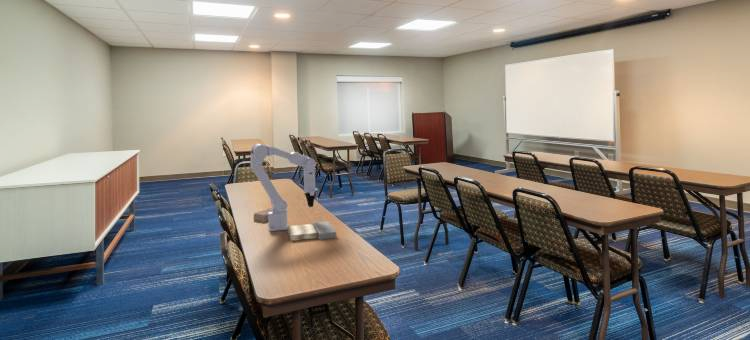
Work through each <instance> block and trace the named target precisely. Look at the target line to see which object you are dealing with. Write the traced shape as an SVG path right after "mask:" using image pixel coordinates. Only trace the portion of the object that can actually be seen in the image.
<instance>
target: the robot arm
mask: <svg viewBox="0 0 750 340" xmlns="http://www.w3.org/2000/svg"><path fill="white" fill-rule="evenodd" d="M273 155H274V156H277V157H280V158H283V159H287V160H288V162H289V163H290V164H293V165H295V166H298V167H303V187H304V189H303V191H304V196H305V197H306V203H307V205H308V206H307V207H308V208H313V207H314V202H315V199H316V195H317V193H316V191H319V189H318V188H316V172H315V171H316V170H315V168H316V166H317V163H316V160H315V159H314V158H312V157H310V156H308V155H307V154H305V155H304V154H302V153H299V152H298V151H291V152H287V151H285V150H283V149H280V148H276V147H275V146H272V145H267V144H262V143H256V144H254V145H253V146H252V148H251V150H250V164H249V165H250V167H251V170H252V171H253V173H254V174H255V176H256V177H257V179H258V181H259V182H260V183H261V186H262V187H263V189H264V191H265V192H266V194H267V196H268V197H269V200H270V203H271V205H270V206H272V207H273V210H272V212H268V220H269V221H268V229H269V232H279V231H285V230H286V231H288V226H289V225H288V210H287V209H288V203H287V201H286V200H285V199H283V198H282V196H281V195H280V194H279V192H278V191H277V189H276V187H275V186H274V184H273V182H272V181H271V179H270V177H269V176H268V174H267V172H266V170H265V169H264V168H263V163H264V160H265V158H266V157H267V156H273ZM272 207H271V208H272Z"/></svg>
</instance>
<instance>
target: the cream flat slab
mask: <svg viewBox="0 0 750 340" xmlns="http://www.w3.org/2000/svg"><path fill="white" fill-rule="evenodd" d="M287 232H288V235H289V238H290V241H291V242H293V241H300V240H301V241H302V240H309V239H319V238H318V237H317V231H316V230H315V228H314V226H313V225H312V223H310V224H309V223H308V224H307V223H306V224H299V225H288V230H287Z"/></svg>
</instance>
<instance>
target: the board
mask: <svg viewBox="0 0 750 340" xmlns="http://www.w3.org/2000/svg"><path fill="white" fill-rule="evenodd" d="M311 224H312V225H313V226H314V228H315V230H316V231H317V237H318V238H317V239H318V240H326V239H336V238H337V231H336V230H335V229H334V227H333V226H332V224H330V222H329V221H328V220H326V221H318V222H316V221H315V222H311Z"/></svg>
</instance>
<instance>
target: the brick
mask: <svg viewBox="0 0 750 340" xmlns="http://www.w3.org/2000/svg"><path fill="white" fill-rule="evenodd" d="M272 210H273V207H268V208H267V209H263V210H260V211H257V212H254V213H253V221H255V222H260V223H265V222H269V220H268V212H272Z"/></svg>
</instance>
